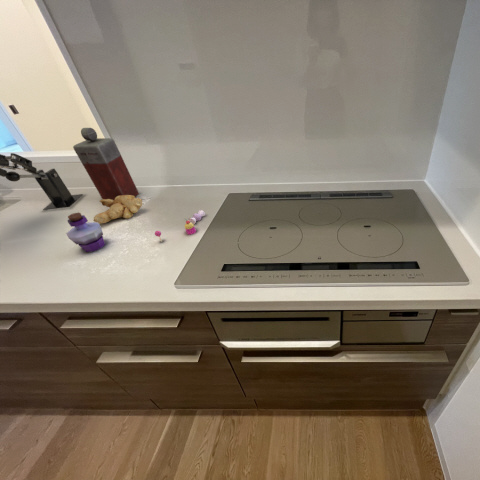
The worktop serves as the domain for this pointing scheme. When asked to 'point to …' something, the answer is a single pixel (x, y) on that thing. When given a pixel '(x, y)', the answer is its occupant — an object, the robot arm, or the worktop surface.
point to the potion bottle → (85, 233)
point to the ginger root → (118, 208)
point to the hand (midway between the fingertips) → (20, 172)
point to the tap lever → (23, 176)
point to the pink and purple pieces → (189, 223)
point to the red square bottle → (105, 165)
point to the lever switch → (56, 190)
